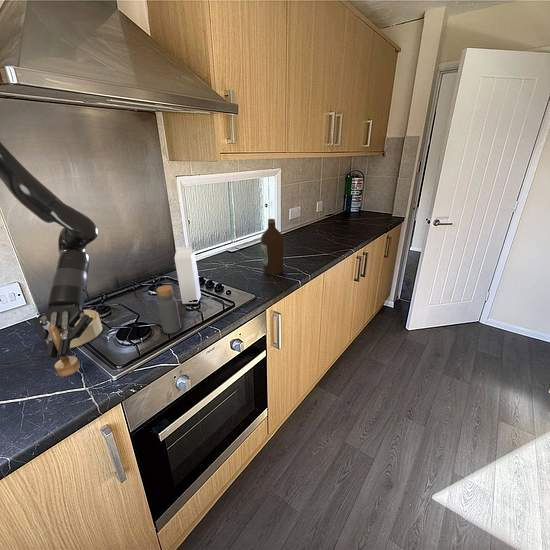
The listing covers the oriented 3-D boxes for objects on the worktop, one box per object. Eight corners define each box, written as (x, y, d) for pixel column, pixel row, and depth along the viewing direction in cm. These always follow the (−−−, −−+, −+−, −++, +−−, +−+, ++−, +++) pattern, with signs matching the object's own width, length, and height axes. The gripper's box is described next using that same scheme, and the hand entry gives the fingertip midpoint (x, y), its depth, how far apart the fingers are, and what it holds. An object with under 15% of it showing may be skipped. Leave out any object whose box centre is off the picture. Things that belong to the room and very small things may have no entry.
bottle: (162, 326, 99) (154, 286, 93) (180, 322, 101) (173, 282, 95) (163, 335, 94) (154, 293, 88) (182, 331, 96) (174, 290, 90)
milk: (186, 297, 118) (177, 244, 110) (201, 296, 118) (193, 244, 110) (182, 304, 113) (172, 249, 104) (197, 303, 113) (189, 249, 104)
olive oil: (279, 265, 147) (278, 216, 137) (287, 273, 138) (286, 220, 128) (259, 268, 144) (256, 218, 134) (266, 276, 135) (263, 223, 125)
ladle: (52, 376, 72) (34, 331, 67) (66, 363, 76) (50, 320, 71) (71, 376, 72) (54, 332, 67) (84, 363, 76) (69, 320, 71)
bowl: (35, 350, 89) (28, 335, 86) (71, 323, 102) (66, 309, 100) (83, 351, 87) (77, 336, 85) (112, 323, 101) (108, 309, 99)
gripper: (30, 285, 72) (14, 357, 66) (89, 282, 73) (78, 352, 67) (50, 294, 79) (37, 361, 73) (103, 291, 80) (95, 356, 74)
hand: (57, 356), depth 70 cm, fingers closed on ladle
